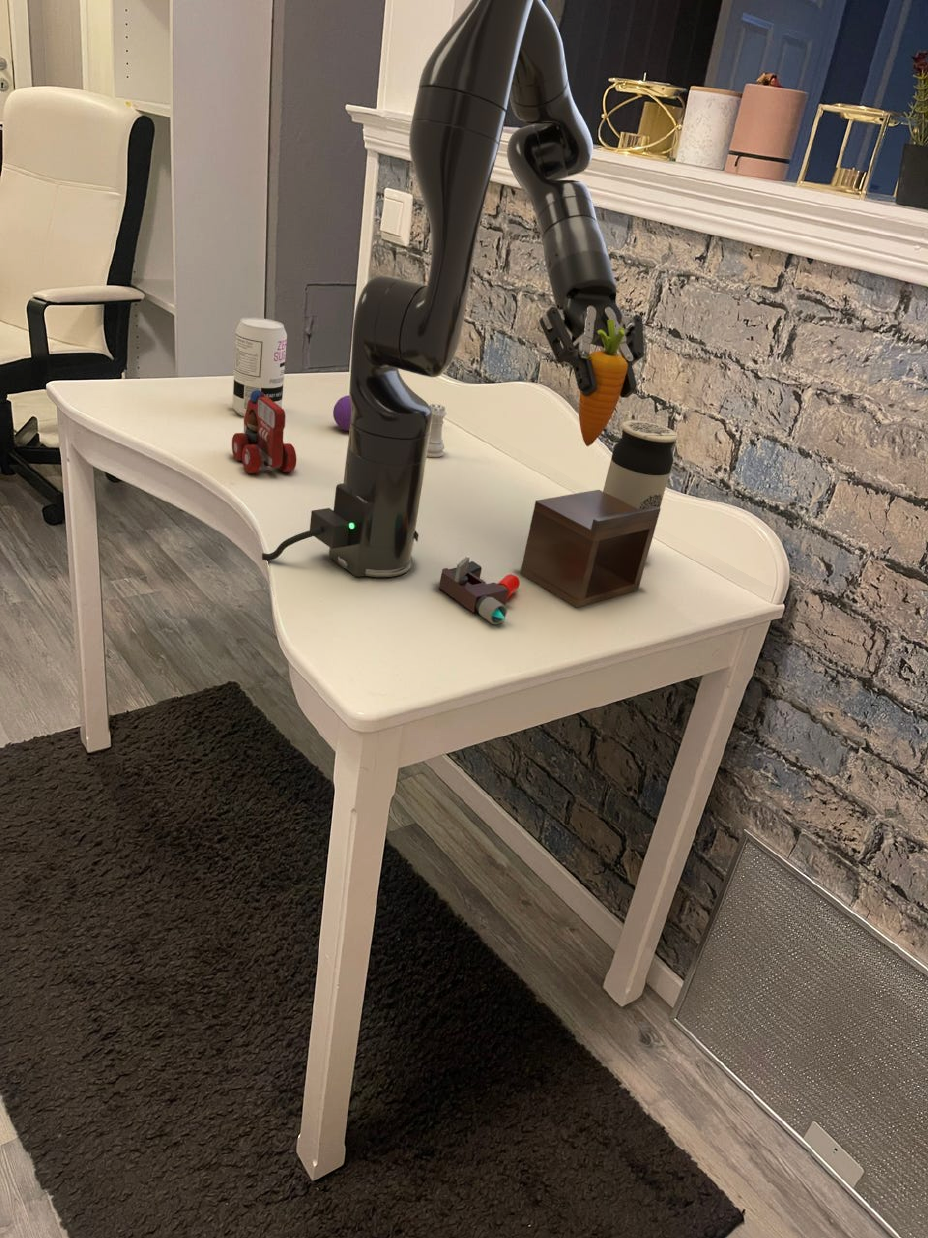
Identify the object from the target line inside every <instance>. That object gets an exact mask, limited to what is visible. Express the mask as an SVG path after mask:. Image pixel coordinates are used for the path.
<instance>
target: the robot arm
mask: <svg viewBox="0 0 928 1238" xmlns="http://www.w3.org/2000/svg"><path fill="white" fill-rule="evenodd" d="M550 12H551V11H549V9H548V7H547V6H546V5H545V3H544V2H543V0H471V1H470V2H469V4H467V6H466V8H465V9H464V10H463V12H462V13H461V14H460V15H459V17H458V18H457V19H456V20H455V22H454V23H453V24H452V25H451V27H450V28H449V29H448V30H447V32H446V33H445V34H444V36H443V37H442V38H441V40H440V41H439V42H438V44H437V45H436V47H435V48H434V50H433V52H432V53H431V55H430V56H429V58H428V59H427V61H426V63H425V64H424V67H423V69H422V73H421V75H420V79H419V83H418V89H417V94H416V99H415V104H414V109H413V113H412V117H411V122H410V129H409V136H408V146H409V147H408V148H409V153H410V159H411V162H412V168H413V172H414V175H415V179H416V182H417V185H418V188H419V191H420V194H421V198H422V201H423V204H424V208H425V211H426V215H427V219H428V225H429V228H430V234H431V257H430V265H429V275H428V280H427V284H425V283H419V282H416V281H412V280H408V279H404V278H401V277H395V276H392V275H376V276H374V277H372V278H371V279H369V281H368V282H367V283H366V284H365V285H364V287H363V289H361V290H362V291H361V292H360V295H359V297H358V300H357V303H356V307H355V312H354V317H353V324H352V325H353V326H352V336H351V337H352V338H351V341H352V342H351V356H350V357H351V360H350V375H349V389H348V391H349V392H348V393H349V394H348V395H349V397H350V403H351V422H350V431H348V441H347V449H346V458H345V466H344V476H343V482H342V483H338V484H336V486H335V494H334V501H333V509H332V508H331V507H326V508H318V509H313V510H311V512H310V523H309V524H310V525H309V530H306V531H303V532H300V533H297V534H294V535H293V536H291V537H288V538H286V539H285V540H283V541H282V542H281V543H280V544H279V545H278V546H277V548H276V549H275V550H274V551H273V552H270V553H264V552H262V553H261V560H262V561H273V560H275V559H277V558H279V557H280V556H281V555H282V554H283V552H284V551H285V550H286V549H287V548H289V547H290V546H292V545H293V544H296V543H298V542H300V541H303V540H306V539H308V538H313V537H314V538H316V540H318V541H320V542H321V543H323V544H324V545H326V546H327V547H328V548H329V549H328V558H330V559H331V560H332V561H334V562H335V563H337V564H338V565H339V566H341V567H342V568H344V569H345V570H346V571H348V572H349V573H350V574H352V575H353V576H355V577H357V578H361V577H373V578H391V577H397V576H401V575H403V574H405V573H407V572H408V571H409V570H410V569H411V567H412V560H413V557H412V555H413V548H414V543H415V542H414V541H416V542H418V540H419V535H420V534H419V533H418V531H417V530H416V528H417V522H418V516H419V515H418V514H419V509H420V502H421V496H422V489H423V484H424V483H423V482H424V475H425V469H426V463H427V451H428V444H429V438H430V431H431V424H432V410H431V408H430V404H429V403H428V402H427V401H426V400H425V399H423V398H422V397H421V396H419V395H418V394H417V393H415V392H414V391H413V390H412V389H411V388H410V387H409V385H408V384H407V383H406V382H405V380H404V379H403V378H402V375H401V373H400V370H402V371H405V372H407V373H408V372H409V373H412V374H416V375H419V376H424V377H428V378H437V377H440V376H442V375H443V374H444V373H445V372H446V371H447V370H448V368H450V366H451V364H452V362H453V360H454V358H455V355H456V352H457V349H458V347H459V343H460V340H461V339H460V338H461V334H462V330H463V325H464V320H465V319H464V318H465V315H466V309H467V302H468V295H469V289H470V282H471V275H472V269H473V262H474V256H475V251H476V244H477V239H478V233H479V229H480V224H481V220H482V215H483V211H484V206H485V201H486V198H487V193H488V189H489V186H490V182H491V178H492V174H493V170H494V166H495V164H496V163H495V162H496V159H497V155H498V152H499V147H500V143H501V140H502V135H503V131H504V127H505V123H506V117H507V113H508V109H509V104H510V105H511V106H510V107H511V109H512V111H513V113H514V115H515V116H516V117H517V118H518V120H520V121H522V122H524V123H527V124H528V125H525V126H523V127H520V128H518V129H516V130H514V131H513V133H512V134H511V135H510V138H509V139H508V143H507V147H506V157H507V163H508V165H509V168H510V170H511V173H512V174H513V176H514V178H515V180H516V181H517V183H518V185H519V186H520V188H521V189H522V191H523V192H524V193H525V195H526V197H527V199H528V200H529V202H530V204H531V206H532V209H533V212H534V213H535V217H536V220H537V225H538V228H539V233H540V237H541V241H542V247H543V256H544V262H545V267H546V271H547V276H548V280H549V283H550V288H551V292H552V297H553V301H554V304H555V306H551V307H550V308H548V310H547V311H546V312H545V313H544V314H543V315H542V316H541V317H540V319H539V324H540V327H541V329H542V330H543V333H544V336H545V338H546V340H547V342H548V344H549V347H550V349H551V351H552V353H553V355H554V358H555V360H556V361H557V362H558V363H560V364H563V363H564V362H565V363H567V364H569V366H570V367H571V369H573V372H574V377H575V381H576V385H577V388H578V390H579V392H580V391H582V395H583V396H590V395H592V394H593V393H594V392H595V391H596V390H597V382H596V378H595V374H594V369H593V365H592V361H591V360H588V359H587V358H588V357H589V355H590V350H591V346H592V345H594V346H596V347H598V348H599V351H605V346H604V344H603V341H602V338H601V336H600V335H599V334H598V330H603V331H604V332H605V333H606V335H607V337H609V332H608V324H607V320H609V319H612V320H614V325H615V334H616V336H617V334H618V333H619V330H620V327H622V328H624V330H625V334H624V337H623V339H622V342H621V344H620V346H619V347H618V349H617V351H616V354H619V355H620V356H622V357H623V358H624V359H625V360H626V362H627V364H628V368H627V372H626V376H625V380H624V383H623V387H622V390H621V393H620V396H619V397H620V398H623V399H628V398H629V397H630V396H631V395H633V394H634V393H635V392H636V389H637V386H638V384H637V380H636V376H635V371H634V367H633V366H634V365H636V363H637V362H639V360H641V359H642V358H643V357H644V356H645V345H644V325H643V323H644V321H643V318H642V316H641V315H639V314H635V315H634V316H632V317H629V316H627V315H623V312H622V311H621V309H620V307H619V306H618V304H617V289H618V288H617V284H616V280H615V276H614V272H613V268H612V264H611V260H610V255H609V252H608V249H607V248H608V247H607V245H606V242H605V238H604V236H603V233H602V231H601V228H600V226H599V222H598V218H597V215H596V210H595V206H594V204H593V203H594V202H593V199H592V195H591V192H590V190H589V188H588V186H587V185H586V184H584V182H582V181H580V180H575V179H566V178H570V177H574V176H577V175H579V174H582V173H583V172H585V171H586V170H587V169H588V167H589V166H590V164H591V162H592V159H593V156H594V143H593V139H592V135H591V133H590V130H589V127H588V126H587V123H586V121H585V120H584V118H583V116H582V114H581V112H580V111H579V109H578V106H577V104H576V103H575V100H574V98H573V95H572V92H571V87H570V83H569V78H568V77H569V76H568V71H567V64H566V63H567V62H566V57H565V50H564V44H563V40H562V36H561V34H560V32H559V31H560V30H559V28H558V27H557V24H556V22H555V20H554V18H553V16H552V14H551V13H550ZM618 352H619V353H618Z"/></svg>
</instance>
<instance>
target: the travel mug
mask: <svg viewBox="0 0 928 1238" xmlns="http://www.w3.org/2000/svg"><path fill="white" fill-rule="evenodd" d="M620 426H621V427H620V428H621V429H622V432H621V438H620V439H619V440H618V441H617V442H616V444H615V445H614V446H613V449H612V453H611V457H610V462H609V466H608V470H607V474H606V478H605V482H604V486H603V490H602V491H603V492H605V493H607V494H609V495H611V496H613V497H615V498H617V499H619V500H621V501H623V502H625V503H627V504H629V505H631V506H633V507H635V508H637V509H639V510H640V509H645V508H650V507H655V506H657V507H659V508H661V506H662V502H663V500H664V495H665V492H666V489H667V485H668V481H669V477H670V474H671V472H672V471H671V470H672V467H673V463H674V456H673V451H672V448H673V446H674V444H675V442H676V441H677V440H678V439H679V435H678V433H676V431H674V430H672V428H670V427H666V426H664V425H661V424H658V423H654V422H650V421H644V420H626V421H623V422H622V423H621V425H620Z"/></svg>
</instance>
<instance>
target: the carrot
mask: <svg viewBox="0 0 928 1238" xmlns="http://www.w3.org/2000/svg"><path fill="white" fill-rule="evenodd" d="M607 324H608V332H609V337H607V335H606V333H605V332H604V331H603V330H598V334H599V335H600V336H601V338H602V341H603V344H604V346H605V351H601V350H597V351H593V352H591V353H589V357H588V358H587V359H588V360H591V361H592V365H593V369H594V374H595V378H596V382H597V390H596V391H595V392H594V393H593V394H592V395H590V396H583V395H582V391H580V390H579V401H578V402H579V404H578V420H579V428H580V433H581V437H582V441H583V443H584V445H585V446H586V447H590V446H591V445H592V444H594V443H595V441H596V440H597V439H598V438H599V437H600V436H601V434H602V433H603V431H605V428H607V426H608V424H609V422H610V420H611V418H612V416H613V414H614V412H615V410H616V407H617V404H618V403H619V400H620V397H621V396H620V393H621V390H622V387H623V383H624V380H625V376H626V372H627V368H628V364H627V362H626V360H625V359H624V358H623V357H622V356H621V354H620V353H618V354H616V351H617V352H618V347H619V346H620V344H621V342H622V339H623V337H624V334H625V330H624V328H622V327H620V330H619V333H618V334H617V336H616V334H615V325H614V320H612V319H609V320H607Z"/></svg>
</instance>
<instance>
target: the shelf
mask: <svg viewBox="0 0 928 1238" xmlns="http://www.w3.org/2000/svg"><path fill="white" fill-rule="evenodd" d="M660 514H661V507H660V508H659V507H657V506H655V507H650V508H645V509H640V510H639V509H637V508H635V507H633V506H631V505H629V504H627V503H625V502H623V501H621V500H619V499H617V498H615V497H613V496H611V495H609V494H607V493H605V492H603V490H601V489H594V490H589V491H583V492H577V493H572V494H567V495H560V496H555V497H549V498H543V499H538V500H535V502H534V506H533V511H532V516H531V519H530V524H529V529H528V534H527V539H526V544H525V549H524V553H523V557H522V558H523V559H522V562H521V567H520V571H519V574H520V575H522V576H523V577H526V578H527V579H529V580H530V581H532V582H533V583H535V584H536V585H539V586H540V587H542V588H543V589H545V590H547V591H548V592H550V593H551V594H553V595H554V596H557V597H558V598H560V599H562V600H563V601H565V602H567V603H568V604H570V605H572V606H573V607H574V608H577V609H578V608H580V607H584V606H587V605H591V604H594V603H596V602H597V603H599V602H601V601H604V600H608V599H611V598H614V597H618V596H621V595H625V594H628V593H631V592H635V591H638V590H639V588H640V584H641V581H642V578H643V574H644V570H645V566H646V563H647V559H648V556H649V552H650V548H651V546H652V542H653V538H654V534H655V531H656V527H657V524H658V520H659V516H660Z"/></svg>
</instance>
